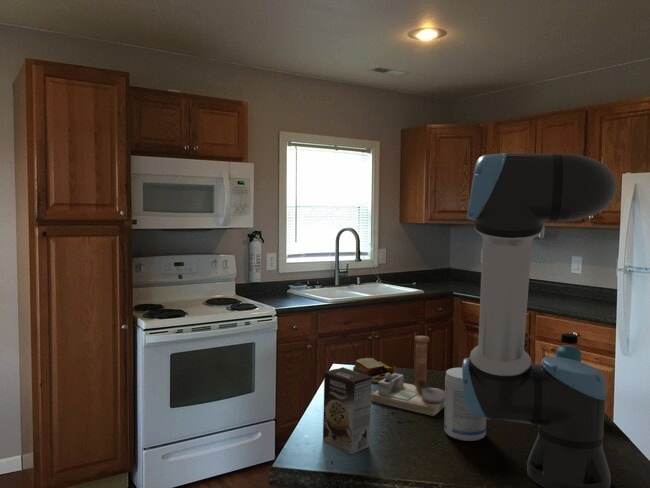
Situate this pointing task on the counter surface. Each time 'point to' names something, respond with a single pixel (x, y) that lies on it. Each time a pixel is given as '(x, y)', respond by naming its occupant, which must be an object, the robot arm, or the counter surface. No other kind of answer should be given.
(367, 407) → the coffee box
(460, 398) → the supplement tub
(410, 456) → the counter surface
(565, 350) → the beverage bottle
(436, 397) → the lever
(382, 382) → the stand
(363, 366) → the toy sandwich meal
